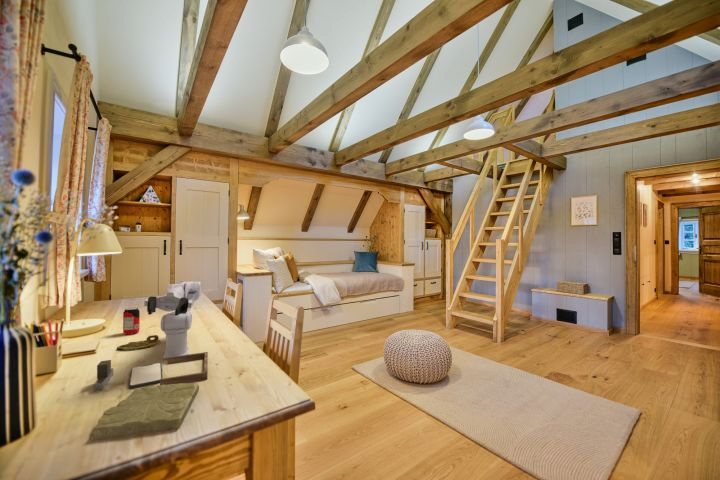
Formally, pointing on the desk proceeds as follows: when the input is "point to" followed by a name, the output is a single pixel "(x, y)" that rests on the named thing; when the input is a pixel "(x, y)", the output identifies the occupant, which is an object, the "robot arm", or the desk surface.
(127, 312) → the beverage can
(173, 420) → the decorative tile
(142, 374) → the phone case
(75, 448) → the desk surface
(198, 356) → the walnut bay
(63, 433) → the desk surface
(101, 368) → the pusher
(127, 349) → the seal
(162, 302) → the robot arm
